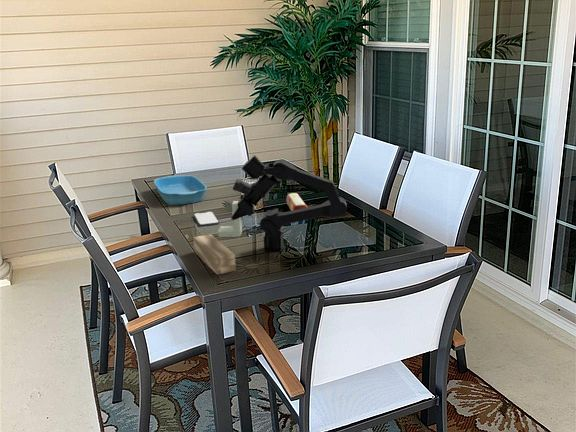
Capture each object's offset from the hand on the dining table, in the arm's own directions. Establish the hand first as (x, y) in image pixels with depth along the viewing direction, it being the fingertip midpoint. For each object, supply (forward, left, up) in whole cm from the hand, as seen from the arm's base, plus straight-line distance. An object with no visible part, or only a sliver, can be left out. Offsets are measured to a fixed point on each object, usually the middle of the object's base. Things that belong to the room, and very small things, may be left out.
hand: (233, 216), depth 212 cm
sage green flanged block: (+1, 0, -7) cm, 7 cm away
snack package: (-9, -50, -13) cm, 52 cm away
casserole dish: (+54, -60, -13) cm, 82 cm away
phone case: (+25, -29, -13) cm, 41 cm away
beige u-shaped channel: (+2, +13, -12) cm, 18 cm away
